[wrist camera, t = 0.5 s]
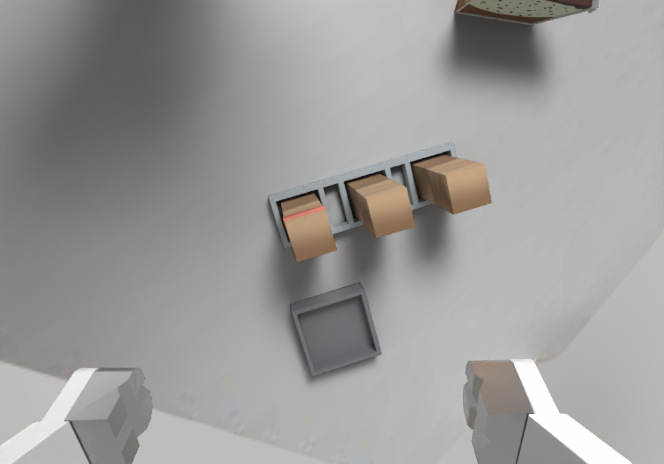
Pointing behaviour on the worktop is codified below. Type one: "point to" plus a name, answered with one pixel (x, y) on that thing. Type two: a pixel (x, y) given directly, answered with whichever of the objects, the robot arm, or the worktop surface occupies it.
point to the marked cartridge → (307, 227)
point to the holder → (354, 174)
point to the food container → (525, 9)
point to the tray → (336, 328)
